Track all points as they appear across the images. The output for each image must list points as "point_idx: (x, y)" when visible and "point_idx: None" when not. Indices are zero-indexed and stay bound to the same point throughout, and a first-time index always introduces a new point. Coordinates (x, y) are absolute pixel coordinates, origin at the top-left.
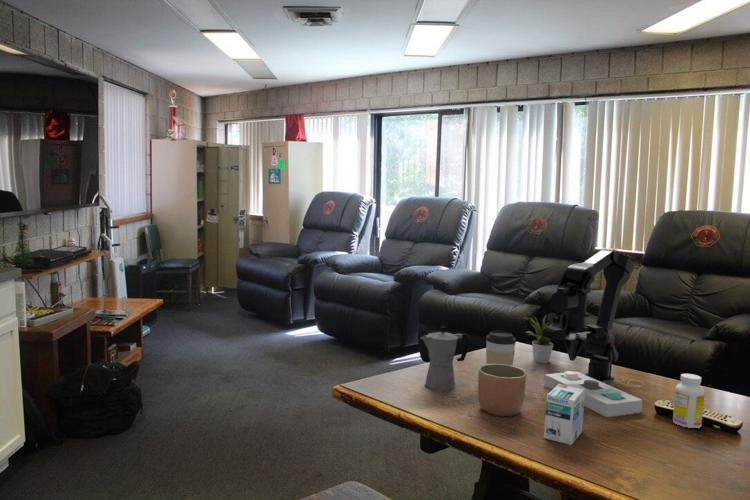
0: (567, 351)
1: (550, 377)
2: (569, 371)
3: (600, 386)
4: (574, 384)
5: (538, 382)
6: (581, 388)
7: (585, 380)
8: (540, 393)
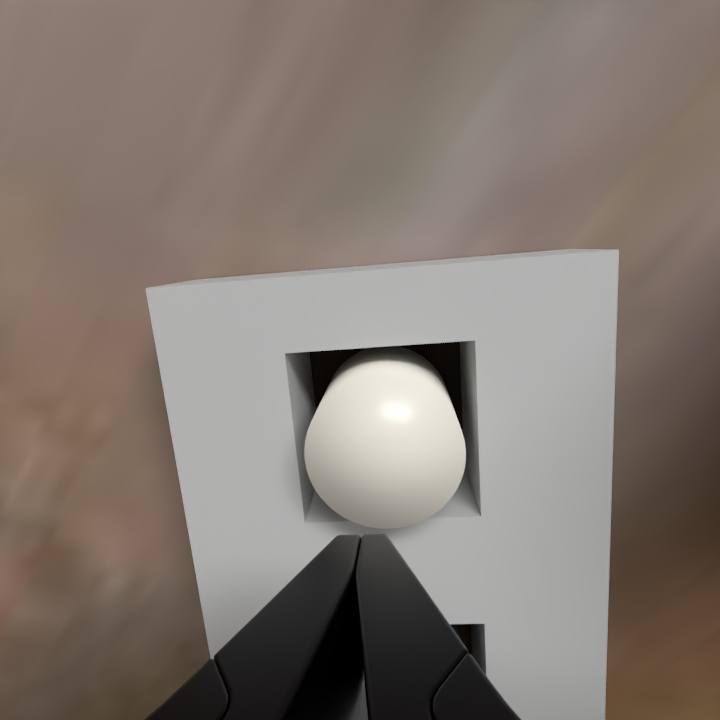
0: (250, 625)
1: (163, 382)
2: (405, 391)
3: None
4: None
5: (191, 178)
6: None
7: None
8: (75, 442)
